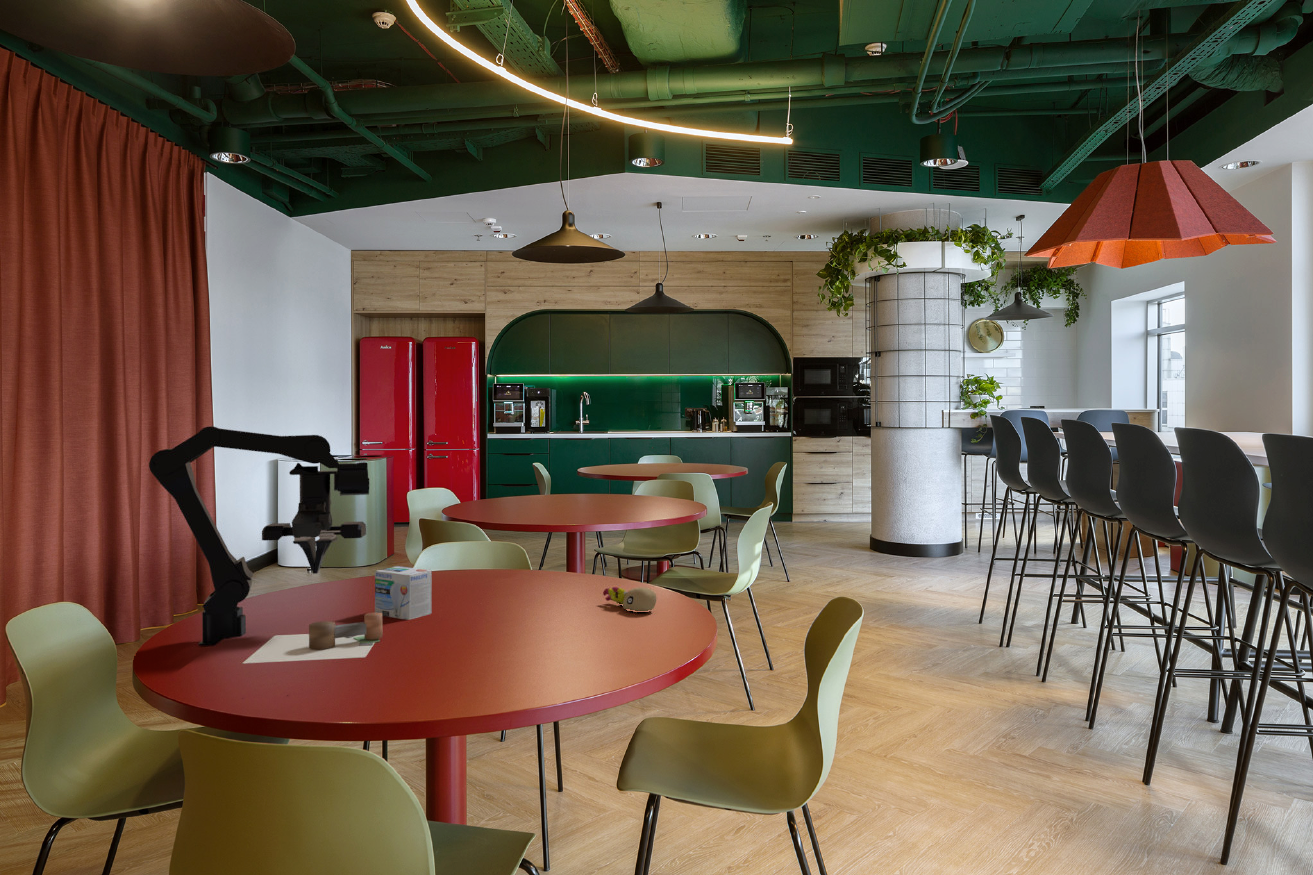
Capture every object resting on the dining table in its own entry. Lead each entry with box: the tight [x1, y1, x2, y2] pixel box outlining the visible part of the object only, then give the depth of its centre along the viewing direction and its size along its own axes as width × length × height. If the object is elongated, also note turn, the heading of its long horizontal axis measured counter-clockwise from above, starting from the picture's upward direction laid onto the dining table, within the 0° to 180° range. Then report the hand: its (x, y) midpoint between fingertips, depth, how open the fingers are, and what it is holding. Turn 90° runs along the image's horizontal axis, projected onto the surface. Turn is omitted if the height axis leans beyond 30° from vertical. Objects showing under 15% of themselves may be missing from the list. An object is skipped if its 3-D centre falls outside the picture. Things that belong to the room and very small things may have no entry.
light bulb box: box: [374, 566, 433, 621], centre depth 167 cm, size 11×7×11 cm, turn 62°
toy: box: [602, 586, 658, 611], centre depth 177 cm, size 6×7×15 cm
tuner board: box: [242, 633, 381, 664], centre depth 142 cm, size 21×18×1 cm
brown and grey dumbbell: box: [308, 612, 383, 649], centre depth 143 cm, size 13×4×5 cm, turn 120°
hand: (315, 573), depth 156 cm, fingers closed
